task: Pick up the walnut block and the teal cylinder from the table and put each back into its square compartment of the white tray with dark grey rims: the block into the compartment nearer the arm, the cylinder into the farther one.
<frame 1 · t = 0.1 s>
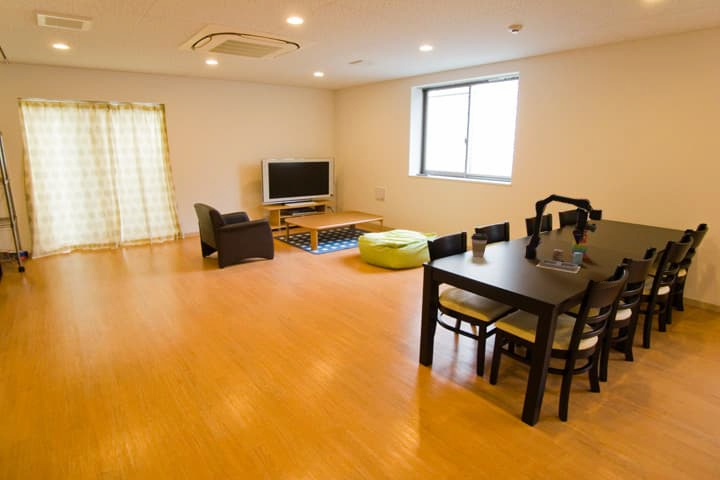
hand: (578, 243, 258), 15 cm above the table, tool pointing down, fingers open, 9 cm apart
coffee cup: (478, 256, 281), on the table
stacking bear: (578, 257, 280), on the table
tray: (558, 267, 257), on the table
teal cylinder: (577, 263, 264), on the table
walnut block: (557, 260, 271), on the table
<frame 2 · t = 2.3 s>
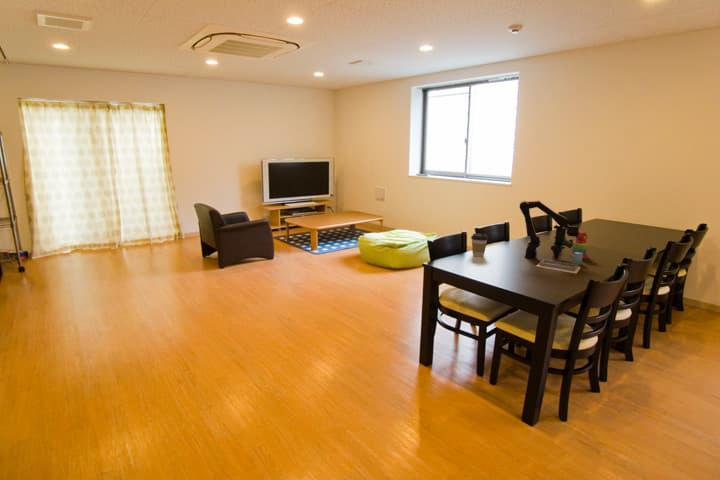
hand: (557, 258, 271), 2 cm above the table, tool pointing down, fingers closed on walnut block, 5 cm apart
walnut block: (557, 260, 271), on the table, touching gripper
everything else where it was.
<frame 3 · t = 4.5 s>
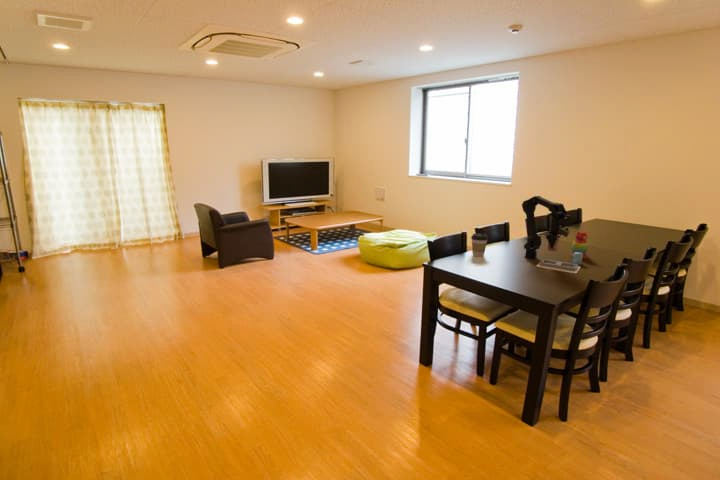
hand: (552, 247, 258), 12 cm above the table, tool pointing down, fingers closed on walnut block, 5 cm apart
walnut block: (552, 250, 258), point 10 cm above the table, touching gripper
everything else where it was.
when the fingers open (4 cm above the table, at t = 6.5 s): walnut block drops 1 cm, resting on tray.
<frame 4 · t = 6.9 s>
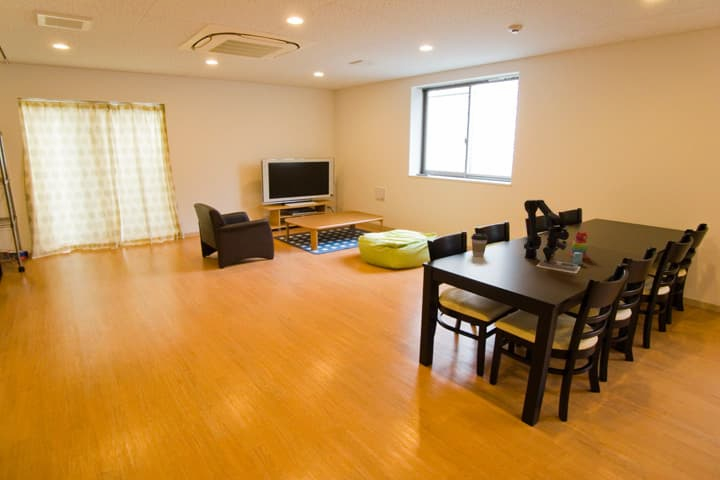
hand: (550, 260, 259), 4 cm above the table, tool pointing down, fingers open, 9 cm apart
walnut block: (549, 264, 259), point 1 cm above the table, touching tray
everything else where it was.
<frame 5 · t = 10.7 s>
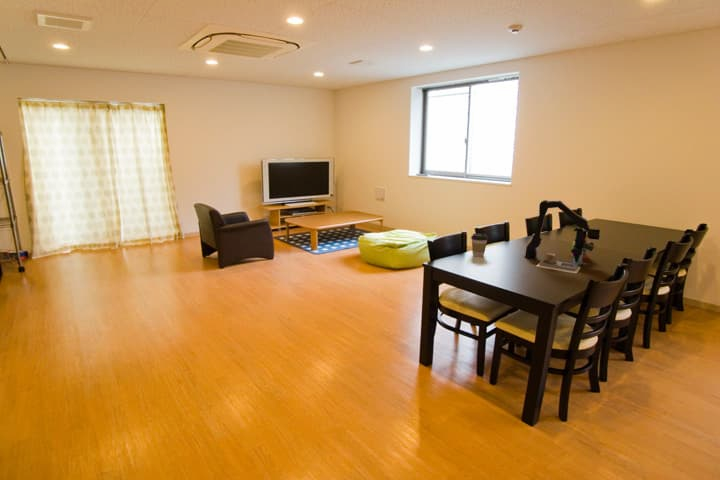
hand: (577, 261, 264), 2 cm above the table, tool pointing down, fingers closed on teal cylinder, 5 cm apart
teal cylinder: (577, 263, 264), on the table, touching gripper
everything else where it was.
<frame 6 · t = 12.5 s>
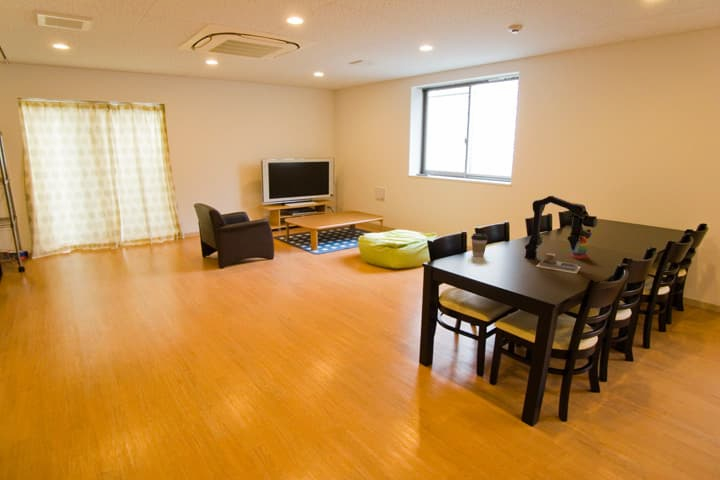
hand: (573, 249, 255), 11 cm above the table, tool pointing down, fingers closed on teal cylinder, 5 cm apart
teal cylinder: (573, 251, 255), point 10 cm above the table, touching gripper
everything else where it was.
when the fingers open (4 cm above the table, at t = 14.8 s): teal cylinder drops 1 cm, resting on tray.
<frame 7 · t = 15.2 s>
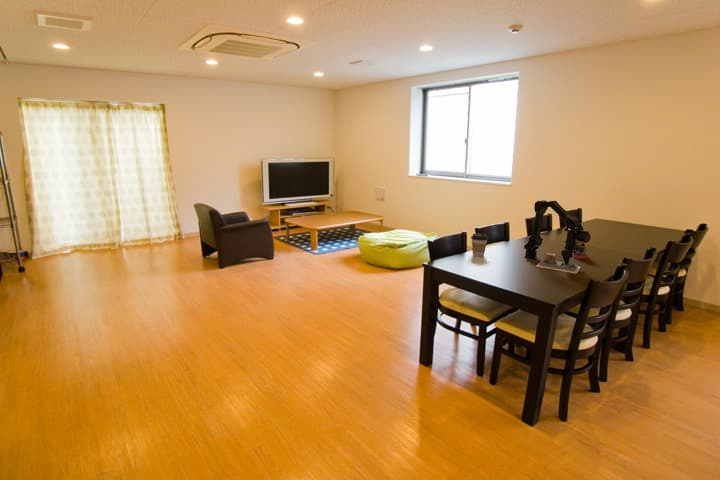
hand: (568, 263, 253), 4 cm above the table, tool pointing down, fingers open, 9 cm apart
teal cylinder: (567, 267, 253), point 1 cm above the table, touching tray
everything else where it was.
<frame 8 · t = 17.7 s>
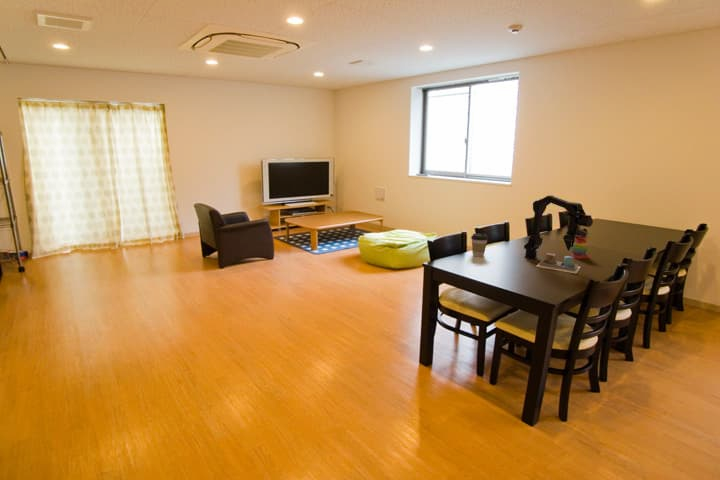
hand: (570, 248, 250), 13 cm above the table, tool pointing down, fingers open, 9 cm apart
nothing on the table moved.
at the end: walnut block 0.0 cm from the target spot on the tray, point 0.6 cm above the tray's base; teal cylinder 0.0 cm from the target spot on the tray, point 0.6 cm above the tray's base; teal cylinder tilted 0° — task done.
